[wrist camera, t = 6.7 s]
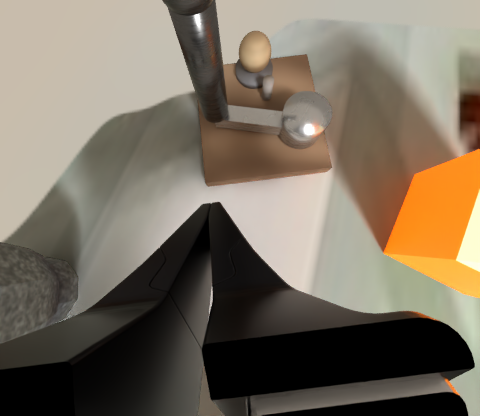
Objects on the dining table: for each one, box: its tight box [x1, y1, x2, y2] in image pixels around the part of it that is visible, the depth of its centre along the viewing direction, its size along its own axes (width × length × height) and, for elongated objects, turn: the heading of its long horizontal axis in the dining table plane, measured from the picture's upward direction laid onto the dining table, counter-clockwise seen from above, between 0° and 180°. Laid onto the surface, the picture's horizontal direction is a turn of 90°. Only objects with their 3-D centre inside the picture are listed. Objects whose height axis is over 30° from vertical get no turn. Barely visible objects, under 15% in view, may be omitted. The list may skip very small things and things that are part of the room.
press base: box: [198, 31, 332, 187], centre depth 17 cm, size 13×12×5 cm
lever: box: [163, 0, 332, 149], centre depth 12 cm, size 4×12×12 cm, turn 81°
